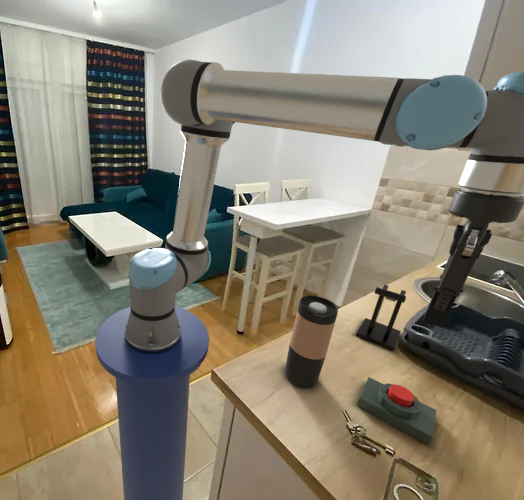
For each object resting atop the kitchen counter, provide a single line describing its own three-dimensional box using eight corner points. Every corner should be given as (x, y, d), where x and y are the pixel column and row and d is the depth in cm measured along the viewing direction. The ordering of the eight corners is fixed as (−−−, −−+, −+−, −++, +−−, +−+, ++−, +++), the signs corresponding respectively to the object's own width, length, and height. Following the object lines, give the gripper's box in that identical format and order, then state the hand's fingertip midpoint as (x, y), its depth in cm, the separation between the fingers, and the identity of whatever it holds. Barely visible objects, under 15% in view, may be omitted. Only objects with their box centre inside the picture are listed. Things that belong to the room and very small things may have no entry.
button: (385, 398, 59) (388, 392, 58) (389, 387, 62) (392, 381, 61) (410, 411, 56) (413, 404, 56) (412, 398, 59) (415, 392, 58)
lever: (403, 304, 68) (406, 294, 68) (373, 294, 72) (377, 285, 71) (403, 304, 78) (406, 296, 78) (377, 296, 82) (380, 288, 82)
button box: (356, 405, 62) (361, 391, 60) (365, 383, 67) (370, 370, 65) (428, 445, 54) (436, 430, 52) (432, 417, 59) (439, 403, 58)
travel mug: (299, 360, 73) (316, 292, 66) (325, 382, 67) (347, 310, 59) (276, 369, 70) (291, 299, 63) (301, 394, 64) (321, 318, 56)
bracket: (393, 351, 77) (411, 304, 72) (355, 335, 83) (370, 290, 78) (399, 334, 84) (416, 290, 78) (364, 320, 90) (378, 278, 84)
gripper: (534, 202, 36) (459, 350, 45) (522, 190, 45) (461, 316, 54) (454, 193, 41) (401, 329, 50) (457, 183, 50) (411, 301, 59)
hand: (432, 322), depth 52 cm, fingers closed
